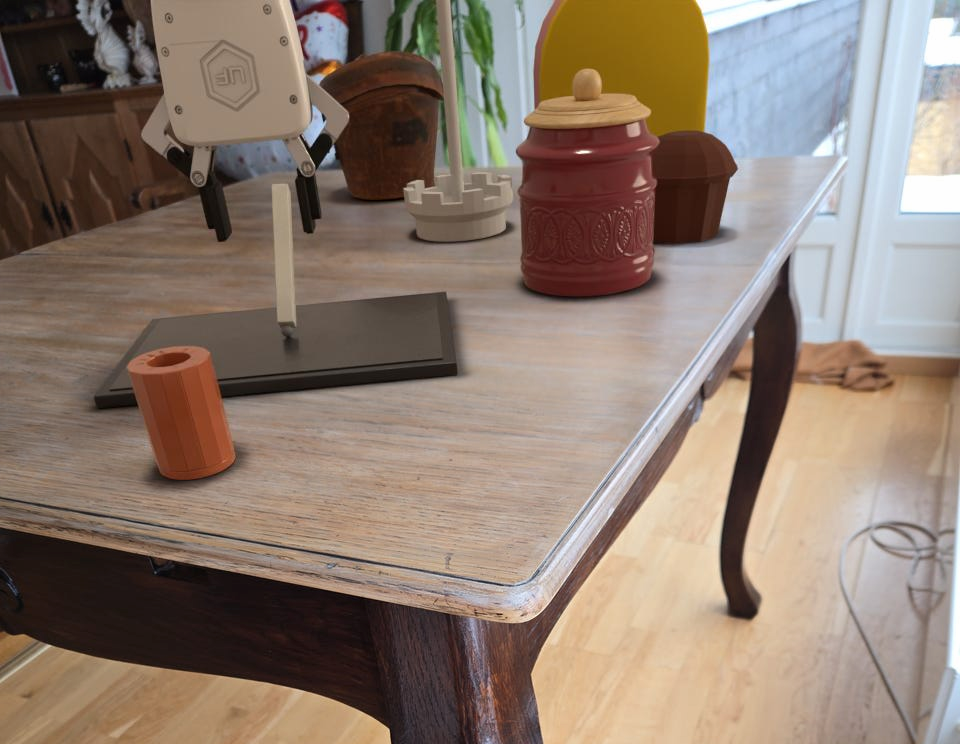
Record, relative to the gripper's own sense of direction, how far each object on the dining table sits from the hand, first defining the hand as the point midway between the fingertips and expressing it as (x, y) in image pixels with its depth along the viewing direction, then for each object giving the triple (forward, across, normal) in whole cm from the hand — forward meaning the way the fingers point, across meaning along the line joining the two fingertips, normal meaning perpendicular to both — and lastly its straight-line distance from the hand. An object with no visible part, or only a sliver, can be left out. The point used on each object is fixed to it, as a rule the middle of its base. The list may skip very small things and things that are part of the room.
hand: (267, 231), depth 71 cm
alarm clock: (+10, +39, +54) cm, 67 cm away
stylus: (+8, 0, 0) cm, 8 cm away
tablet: (+10, 0, 0) cm, 10 cm away
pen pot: (+10, -4, -22) cm, 24 cm away
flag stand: (+10, +17, +40) cm, 45 cm away
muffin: (+10, +41, +28) cm, 51 cm away
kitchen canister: (+10, +28, +13) cm, 32 cm away
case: (+10, +8, +70) cm, 71 cm away
